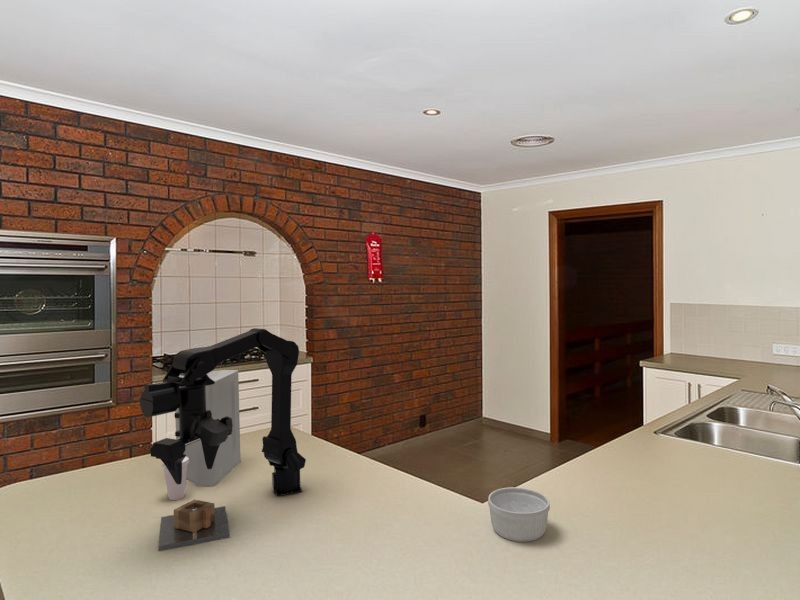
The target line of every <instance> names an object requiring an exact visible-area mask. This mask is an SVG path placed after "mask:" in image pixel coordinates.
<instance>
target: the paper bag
mask: <svg viewBox="0 0 800 600" xmlns="http://www.w3.org/2000/svg"><path fill="white" fill-rule="evenodd" d="M206 375H208V377H209V378H210V379H212V380H213V381H215V384H212V385H207V386H206V410H211V413H212V419H215V420H216V419H221V418H223V417H226V416H228V417H230V418H232V424H233V427H232V434H231V435H228V438H227V439H226V441H225V442H222V443H221V444H220V446H219V448H218V451H217V454H216V457H215V460H214V464H213V467H212V469H207V466H206V463H205V458H204V453H203V448H202V443H201V440H199V441H197V442H194V443H192V444H189V445H187V446H185V452H184V453H183V454H184V455H186V457H188V458H189V463H188V464H187V474H186V481H188V482H190V483H191V484H193V485H195V486H196V487H210V488H211V487H215V486H217V485H218V483H220V482H221V481H222V480H223V479H224V478H225V477H226V476H227V475H229V473H231V472H232V471H233V469H235V468H236V467H237V466H238V465H239V464H240V463H241V430H240V429H241V427H240V426H241V425H240V421H241V420H240V391H239V390H240V388H239V387H240V386H239V370H238V369H237V370H236V369H224V370H223V369H221V370H213V371H211V372H209V373H208V374H206ZM179 377H184V376H181V375H180V376H179ZM177 412H179V408H177V410H176V411H175V412H174V414H175V413H177ZM174 420H175V432H176V431H178V430H179V418H175V417H174ZM219 421H220V420H219ZM175 439H176V440H178V439H180V437H178V436H175Z"/></svg>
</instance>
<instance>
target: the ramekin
mask: <svg viewBox="0 0 800 600" xmlns="http://www.w3.org/2000/svg"><path fill="white" fill-rule="evenodd" d="M487 499H488V500H487V505H488V507H489V515H490V516H489V517H490V522H491V526H492V528H493V530H494V531H495V533H497V535H499V536H501V538H503V539H505V540H506V539H507V540H509V541H512V542H513V541H514V542H521V543H526V542H534V541H536V540H539V539H540V538H541V537H542V536H543V535H544V534H545V532H547V531H546V530H547V525H548V520H549V519H548V518H549V512H550V510H551V509H550V508H551V506H550V505H551V504H550V500H549V498H548V497H547V496H545V495H544V494H543V493H541V492H539V491H537V490H533V489H531V488H527V487H525V488H524V487H519V486H518V487H516V486H515V487H509V486H508V487H503V488H498V489H496V490H493V491H491V493H489V495H488V497H487Z"/></svg>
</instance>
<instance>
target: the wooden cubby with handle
mask: <svg viewBox="0 0 800 600" xmlns="http://www.w3.org/2000/svg"><path fill="white" fill-rule="evenodd" d="M194 507H197V508H198V509H196V510H189V509H191V508H194ZM215 508H216V507H215V502H210V501H203V500H200V499H193V500H190V501H187V503H184V504H183V505H180V506H178V507H177V508H174V509H173V515H174V528H177V529H182V530H186V531H191V532H196V531H198V530H200V529H202V528H208V527H210V526H211V523H212V522H214V521H215Z"/></svg>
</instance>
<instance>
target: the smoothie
mask: <svg viewBox="0 0 800 600" xmlns="http://www.w3.org/2000/svg"><path fill="white" fill-rule="evenodd" d="M188 463H189V458H188V457H185V458H184V459H183V461H182V481H181V484H180V485H179V484H176V482H175V481H174V479H173V477H172V476H171V474H170V472H169V471H168V469H167V467H166V466H165V465H164V463H163V462H162V461H161V467H162V468H163V472H164V478H165V479H164V480H165V486H166V490H167V495H168V500H170V501H176V500H177V501H178V500H181V499H183V498H184V497H185V491H186V481H187V480H186V474H187V464H188Z"/></svg>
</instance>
